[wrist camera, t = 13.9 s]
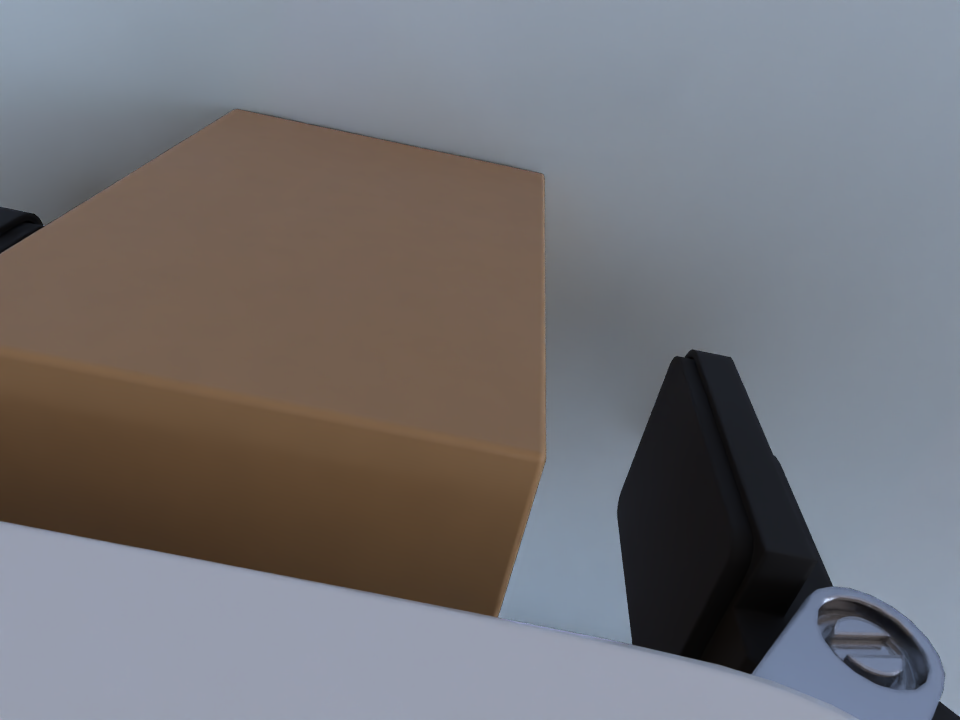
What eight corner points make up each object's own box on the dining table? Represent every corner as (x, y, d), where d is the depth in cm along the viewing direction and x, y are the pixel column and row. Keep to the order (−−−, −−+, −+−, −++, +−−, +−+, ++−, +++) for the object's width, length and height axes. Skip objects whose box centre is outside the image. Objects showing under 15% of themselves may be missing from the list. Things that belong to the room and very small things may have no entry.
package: (233, 106, 10) (-140, 333, 5) (546, 173, 11) (549, 468, 5) (228, 438, 13) (0, 816, 8) (470, 485, 14) (419, 889, 8)
